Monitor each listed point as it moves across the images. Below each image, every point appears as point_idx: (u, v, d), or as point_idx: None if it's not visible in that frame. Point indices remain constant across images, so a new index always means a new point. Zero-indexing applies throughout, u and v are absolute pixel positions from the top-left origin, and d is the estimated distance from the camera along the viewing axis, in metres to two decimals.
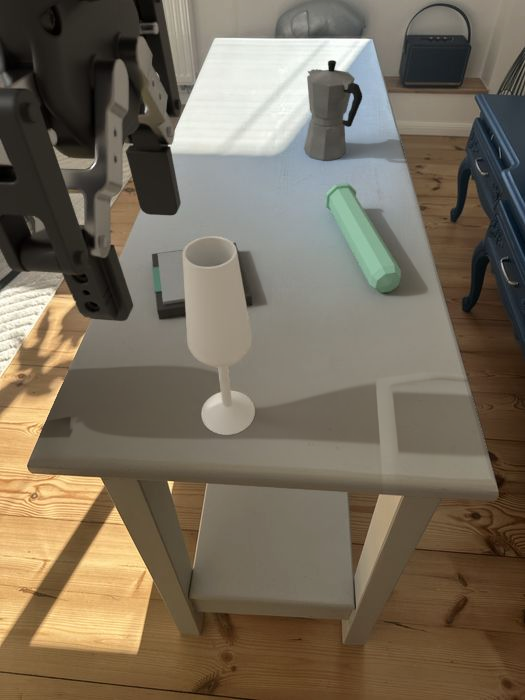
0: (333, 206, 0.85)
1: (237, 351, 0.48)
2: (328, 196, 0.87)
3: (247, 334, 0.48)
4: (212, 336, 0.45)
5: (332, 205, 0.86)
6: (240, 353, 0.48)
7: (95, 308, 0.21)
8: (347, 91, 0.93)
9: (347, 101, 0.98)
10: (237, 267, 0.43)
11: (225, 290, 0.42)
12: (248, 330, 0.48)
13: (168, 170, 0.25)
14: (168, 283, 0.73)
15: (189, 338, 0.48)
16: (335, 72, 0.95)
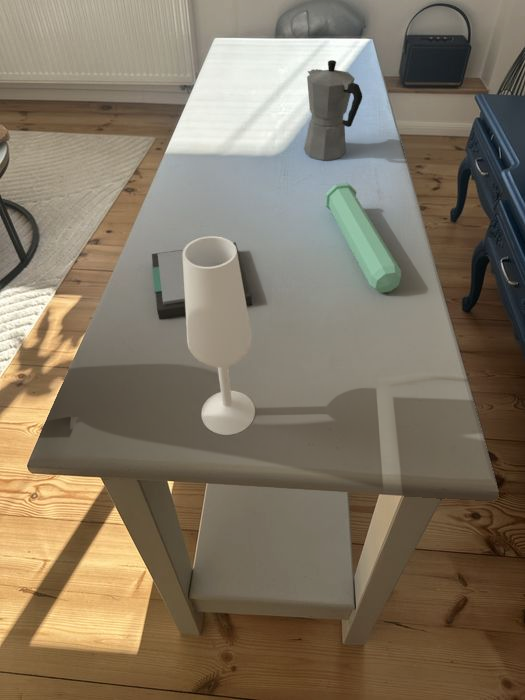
0: (333, 206, 0.85)
1: (237, 351, 0.48)
2: (328, 196, 0.87)
3: (247, 334, 0.48)
4: (212, 336, 0.45)
5: (332, 205, 0.86)
6: (240, 353, 0.48)
7: None
8: (347, 91, 0.93)
9: (347, 101, 0.98)
10: (237, 267, 0.43)
11: (225, 290, 0.42)
12: (248, 330, 0.48)
13: None
14: (168, 283, 0.73)
15: (189, 338, 0.48)
16: (335, 72, 0.95)
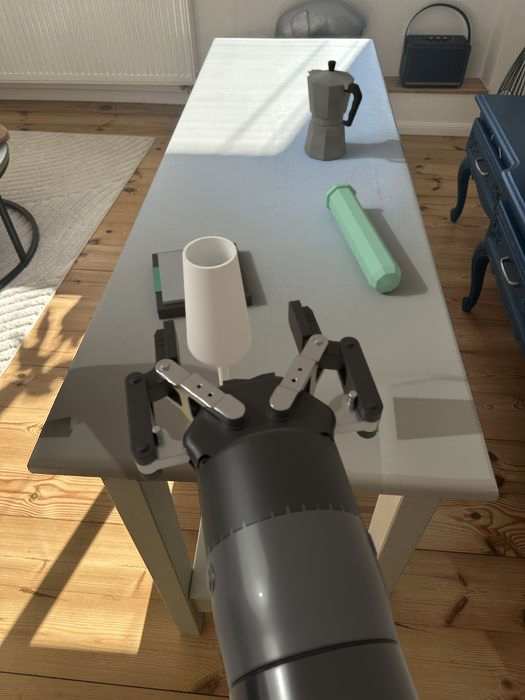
0: (333, 206, 0.85)
1: (237, 351, 0.48)
2: (328, 196, 0.87)
3: (247, 334, 0.48)
4: (212, 336, 0.45)
5: (332, 205, 0.86)
6: (240, 353, 0.48)
7: None
8: (347, 91, 0.93)
9: (347, 101, 0.98)
10: (237, 267, 0.43)
11: (225, 290, 0.42)
12: (248, 330, 0.48)
13: (176, 346, 0.30)
14: (168, 283, 0.73)
15: (189, 338, 0.48)
16: (335, 72, 0.95)
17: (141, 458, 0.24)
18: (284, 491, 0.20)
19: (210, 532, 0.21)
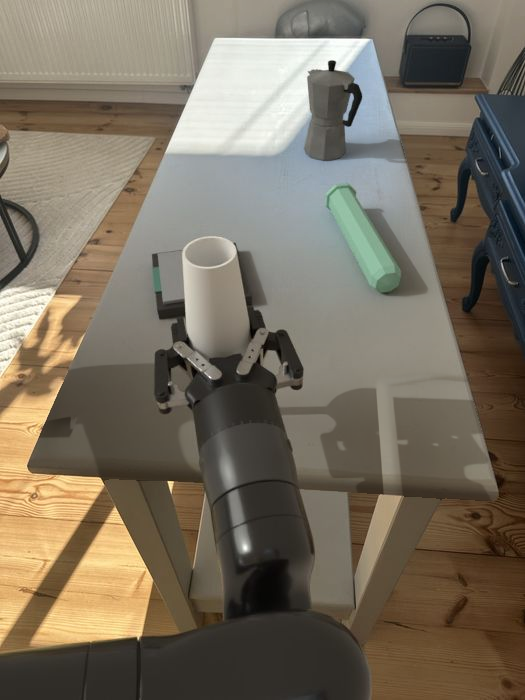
0: (333, 206, 0.85)
1: (237, 351, 0.48)
2: (328, 196, 0.87)
3: (247, 334, 0.48)
4: (212, 336, 0.45)
5: (332, 205, 0.86)
6: None
7: None
8: (347, 91, 0.93)
9: (347, 101, 0.98)
10: (237, 267, 0.43)
11: (225, 290, 0.42)
12: (248, 330, 0.48)
13: (185, 333, 0.48)
14: (168, 283, 0.73)
15: (189, 338, 0.48)
16: (335, 72, 0.95)
17: (159, 398, 0.42)
18: (240, 413, 0.38)
19: (201, 438, 0.39)
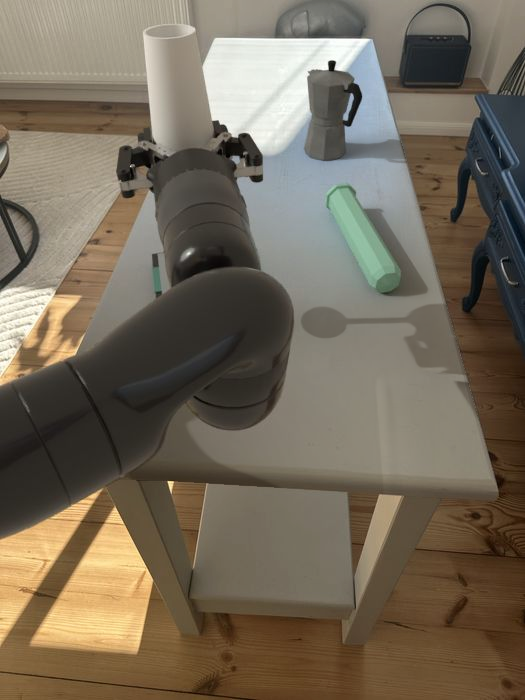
0: (333, 206, 0.85)
1: None
2: (328, 196, 0.87)
3: None
4: (175, 129, 0.47)
5: (332, 205, 0.86)
6: None
7: None
8: (347, 91, 0.93)
9: (347, 101, 0.98)
10: (197, 49, 0.44)
11: (184, 70, 0.44)
12: (212, 134, 0.49)
13: (151, 137, 0.49)
14: (168, 283, 0.73)
15: (154, 141, 0.49)
16: (335, 72, 0.95)
17: (121, 174, 0.44)
18: (194, 164, 0.39)
19: (157, 193, 0.40)
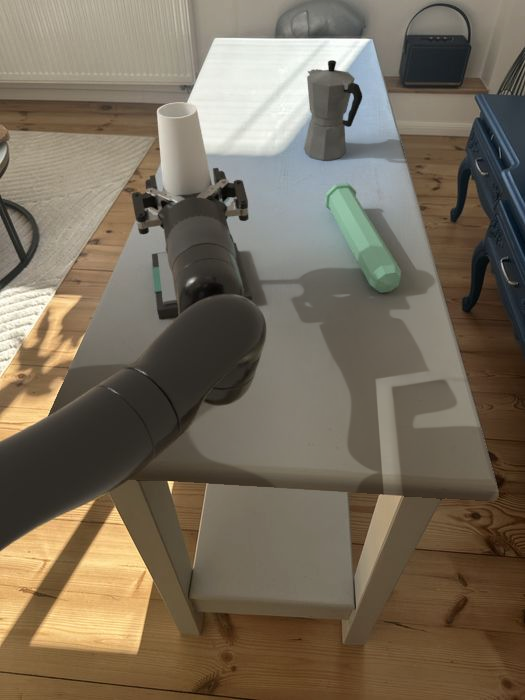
0: (333, 206, 0.85)
1: None
2: (328, 196, 0.87)
3: (208, 186, 0.63)
4: (180, 181, 0.61)
5: (332, 205, 0.86)
6: None
7: None
8: (347, 91, 0.93)
9: (347, 101, 0.98)
10: (198, 123, 0.58)
11: (188, 139, 0.57)
12: (209, 183, 0.63)
13: (156, 184, 0.62)
14: (168, 283, 0.73)
15: (164, 188, 0.63)
16: (335, 72, 0.95)
17: (139, 217, 0.57)
18: (195, 211, 0.53)
19: (167, 232, 0.54)
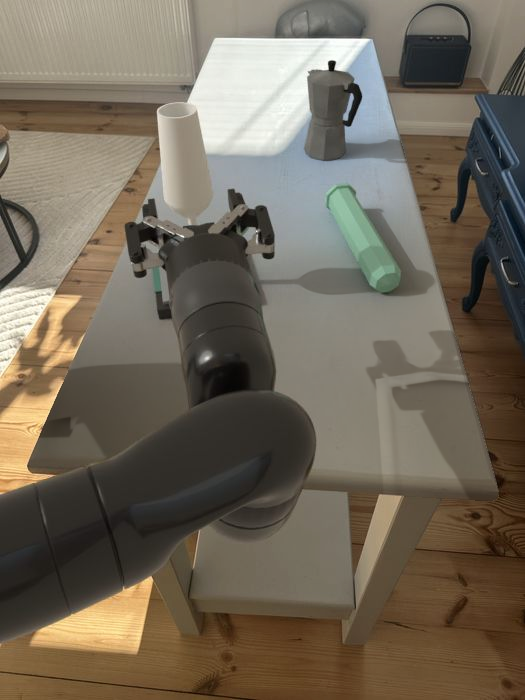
0: (333, 206, 0.85)
1: (200, 198, 0.63)
2: (328, 196, 0.87)
3: (208, 186, 0.63)
4: (180, 181, 0.61)
5: (332, 205, 0.86)
6: (203, 201, 0.63)
7: None
8: (347, 91, 0.93)
9: (347, 101, 0.98)
10: (198, 123, 0.58)
11: (188, 139, 0.57)
12: (209, 183, 0.63)
13: (155, 210, 0.49)
14: None
15: (164, 188, 0.63)
16: (335, 72, 0.95)
17: (134, 257, 0.44)
18: (208, 253, 0.40)
19: (171, 280, 0.40)
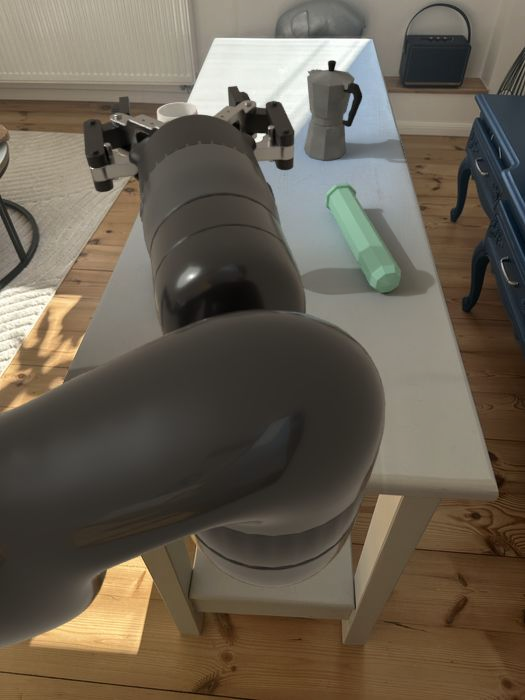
0: (333, 206, 0.85)
1: None
2: (328, 196, 0.87)
3: None
4: None
5: (332, 205, 0.86)
6: None
7: None
8: (347, 91, 0.93)
9: (347, 101, 0.98)
10: None
11: None
12: None
13: (129, 109, 0.36)
14: None
15: None
16: (335, 72, 0.95)
17: (93, 157, 0.30)
18: (198, 136, 0.26)
19: (143, 180, 0.27)
